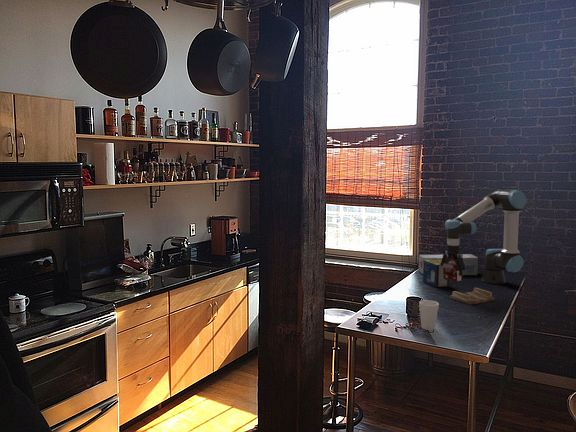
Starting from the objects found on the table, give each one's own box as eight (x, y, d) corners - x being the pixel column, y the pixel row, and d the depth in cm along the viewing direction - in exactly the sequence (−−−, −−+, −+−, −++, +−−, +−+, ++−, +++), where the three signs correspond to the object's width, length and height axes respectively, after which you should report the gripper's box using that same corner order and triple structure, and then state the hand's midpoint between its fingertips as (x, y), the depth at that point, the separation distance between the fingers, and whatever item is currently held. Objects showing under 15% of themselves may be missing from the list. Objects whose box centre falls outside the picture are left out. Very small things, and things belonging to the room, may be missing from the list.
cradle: (473, 293, 307) (473, 286, 306) (494, 300, 292) (494, 293, 292) (449, 297, 298) (450, 290, 297) (470, 304, 283) (470, 297, 283)
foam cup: (415, 324, 248) (416, 300, 247) (433, 324, 249) (434, 299, 248) (422, 331, 239) (423, 305, 238) (440, 331, 240) (441, 305, 238)
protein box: (435, 280, 339) (436, 258, 338) (449, 286, 325) (450, 263, 323) (422, 281, 336) (423, 259, 334) (435, 287, 322) (436, 264, 320)
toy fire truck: (460, 282, 303) (461, 265, 301) (440, 279, 310) (441, 263, 309) (463, 279, 308) (464, 263, 307) (444, 277, 316) (444, 261, 314)
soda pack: (471, 271, 368) (471, 253, 366) (478, 275, 355) (479, 257, 353) (417, 271, 367) (418, 253, 365) (423, 275, 354) (423, 257, 352)
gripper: (435, 242, 315) (434, 275, 318) (463, 248, 294) (461, 283, 297) (443, 241, 318) (443, 273, 321) (472, 247, 298) (470, 281, 300)
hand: (452, 278), depth 309 cm, fingers closed on toy fire truck, 11 cm apart
